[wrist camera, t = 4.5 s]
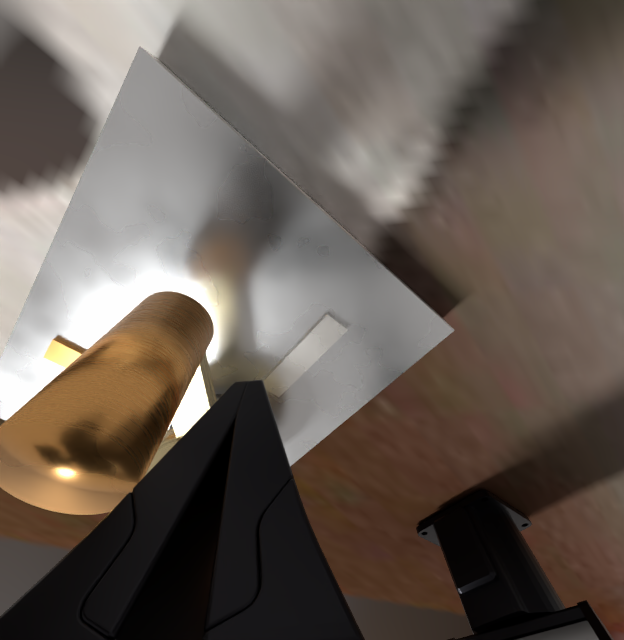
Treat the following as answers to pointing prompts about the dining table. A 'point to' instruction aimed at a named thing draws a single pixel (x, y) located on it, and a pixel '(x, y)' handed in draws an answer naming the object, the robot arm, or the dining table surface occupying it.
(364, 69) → the dining table surface
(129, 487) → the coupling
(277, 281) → the base
